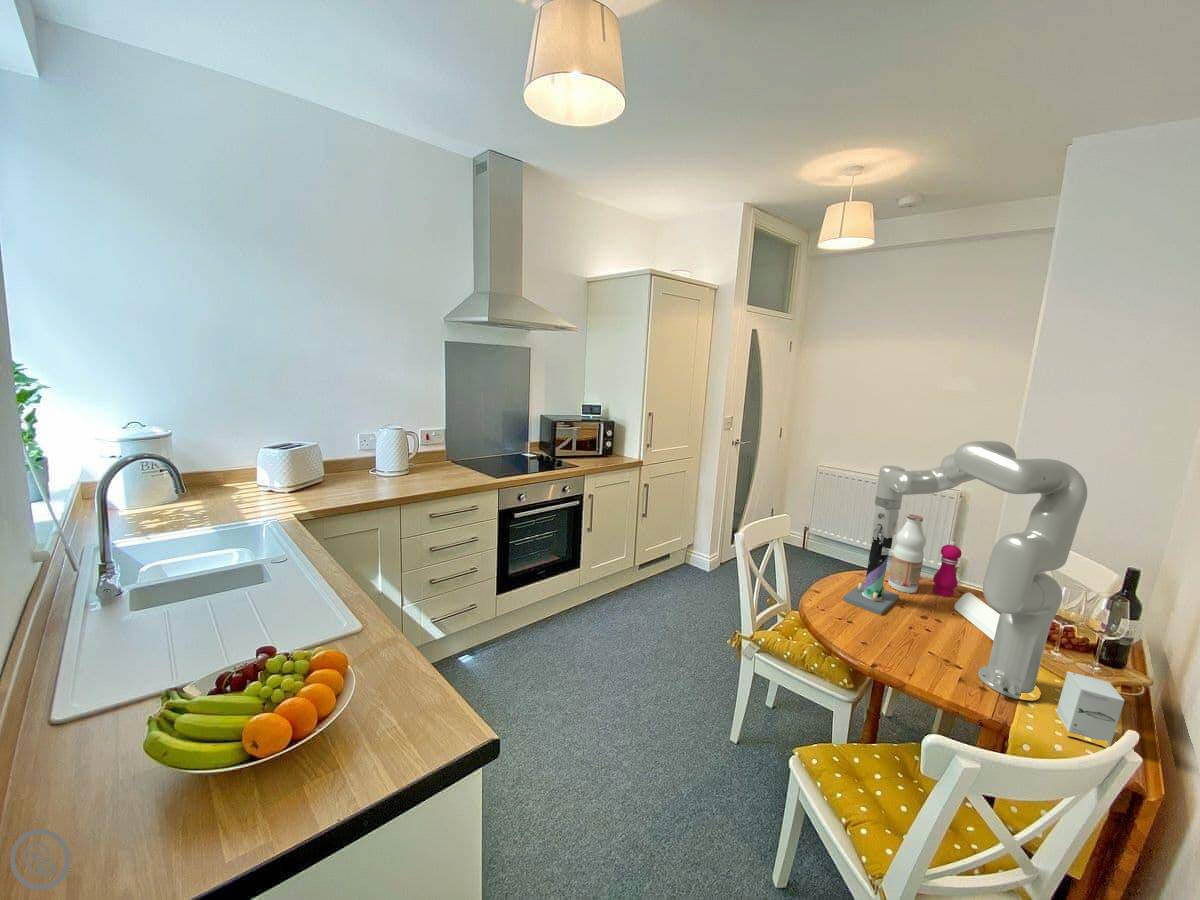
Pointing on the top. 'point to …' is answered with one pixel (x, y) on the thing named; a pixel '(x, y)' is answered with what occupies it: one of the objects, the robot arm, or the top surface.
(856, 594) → the pin board
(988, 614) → the white long bar
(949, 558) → the pepper mill
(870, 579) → the spray can
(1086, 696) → the supplement box
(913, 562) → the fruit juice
